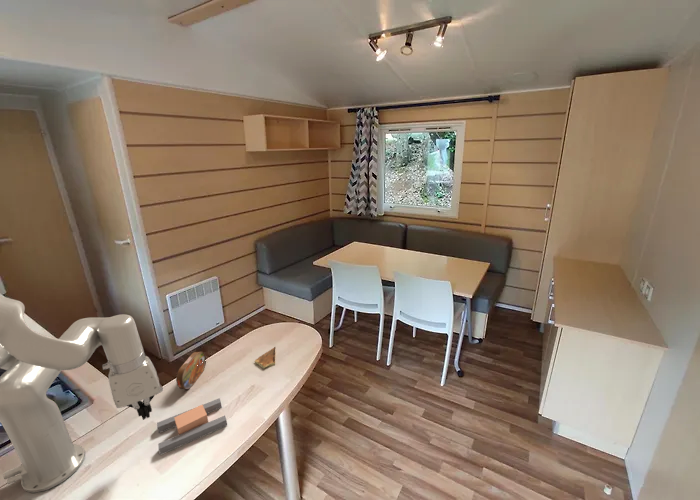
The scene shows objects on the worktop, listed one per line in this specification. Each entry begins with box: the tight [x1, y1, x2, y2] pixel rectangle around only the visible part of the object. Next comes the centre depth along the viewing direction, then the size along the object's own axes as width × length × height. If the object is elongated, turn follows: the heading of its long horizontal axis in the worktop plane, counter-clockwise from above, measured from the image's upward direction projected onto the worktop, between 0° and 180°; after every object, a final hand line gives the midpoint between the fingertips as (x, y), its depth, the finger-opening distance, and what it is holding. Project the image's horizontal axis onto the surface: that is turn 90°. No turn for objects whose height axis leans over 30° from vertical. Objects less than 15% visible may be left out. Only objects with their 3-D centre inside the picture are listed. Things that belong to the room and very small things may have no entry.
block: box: [174, 404, 209, 435], centre depth 97 cm, size 8×5×4 cm, turn 128°
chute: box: [156, 397, 228, 456], centre depth 97 cm, size 18×10×2 cm, turn 122°
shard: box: [254, 346, 276, 369], centre depth 127 cm, size 11×8×2 cm
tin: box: [175, 351, 207, 390], centre depth 115 cm, size 15×3×8 cm, turn 175°
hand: (146, 415), depth 88 cm, fingers closed
